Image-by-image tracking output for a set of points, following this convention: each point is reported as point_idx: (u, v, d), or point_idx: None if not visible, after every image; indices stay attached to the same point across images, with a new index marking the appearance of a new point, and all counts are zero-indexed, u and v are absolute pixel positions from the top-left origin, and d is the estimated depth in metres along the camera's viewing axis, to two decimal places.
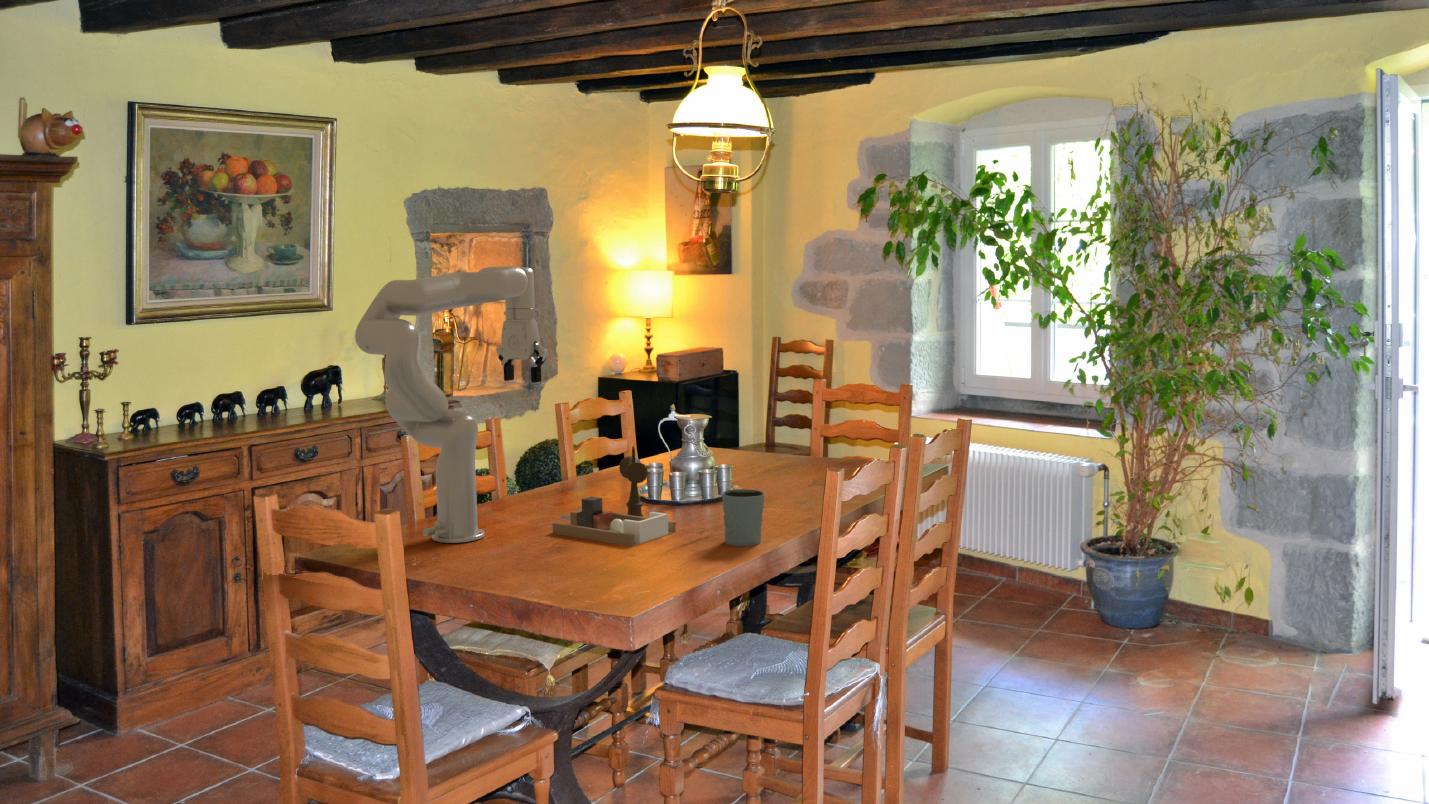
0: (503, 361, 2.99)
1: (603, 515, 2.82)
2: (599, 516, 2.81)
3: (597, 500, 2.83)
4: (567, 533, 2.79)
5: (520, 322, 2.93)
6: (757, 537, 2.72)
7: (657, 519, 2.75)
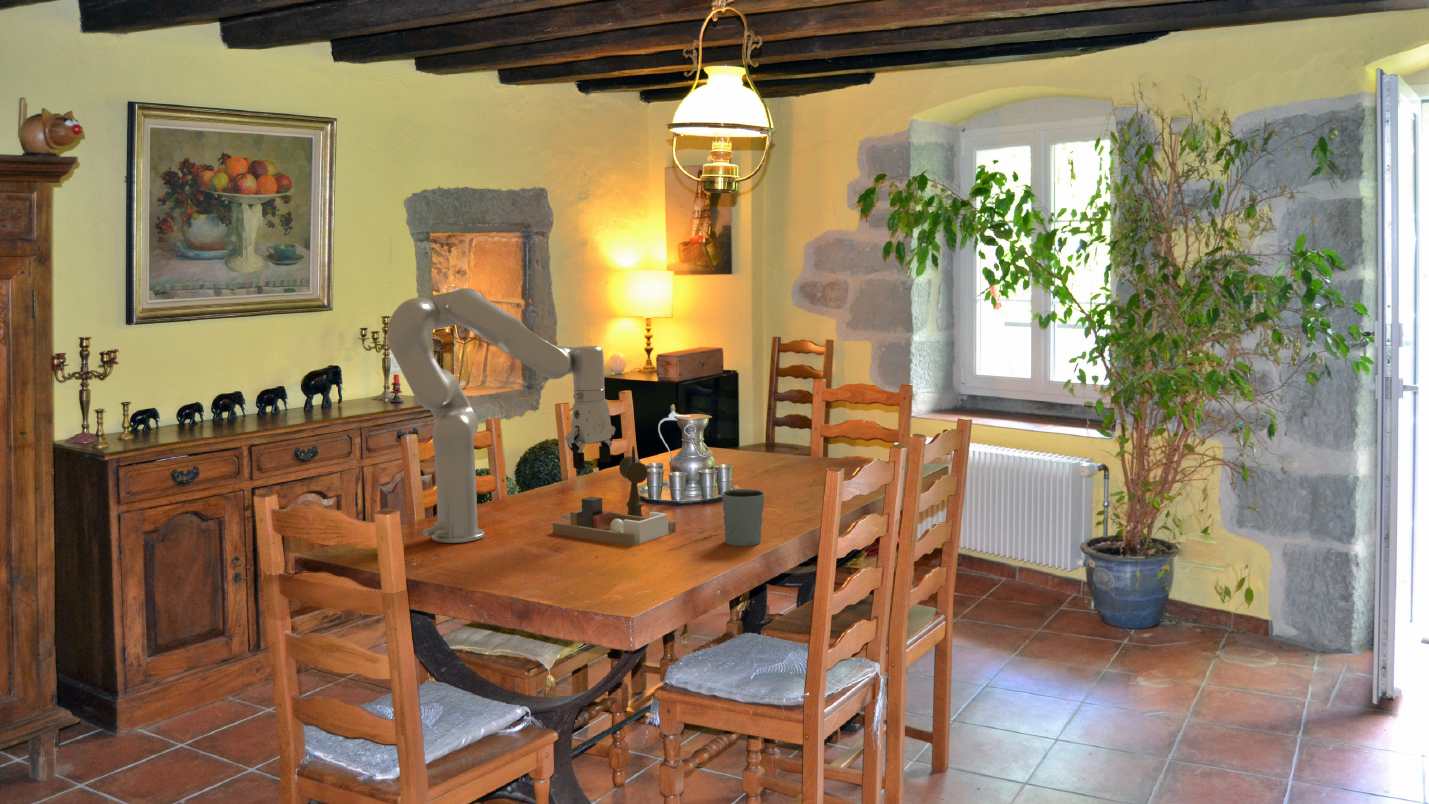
0: (581, 448, 2.78)
1: (603, 515, 2.82)
2: (599, 516, 2.81)
3: (597, 500, 2.83)
4: (567, 533, 2.79)
5: (603, 402, 2.82)
6: (757, 537, 2.72)
7: (657, 519, 2.75)
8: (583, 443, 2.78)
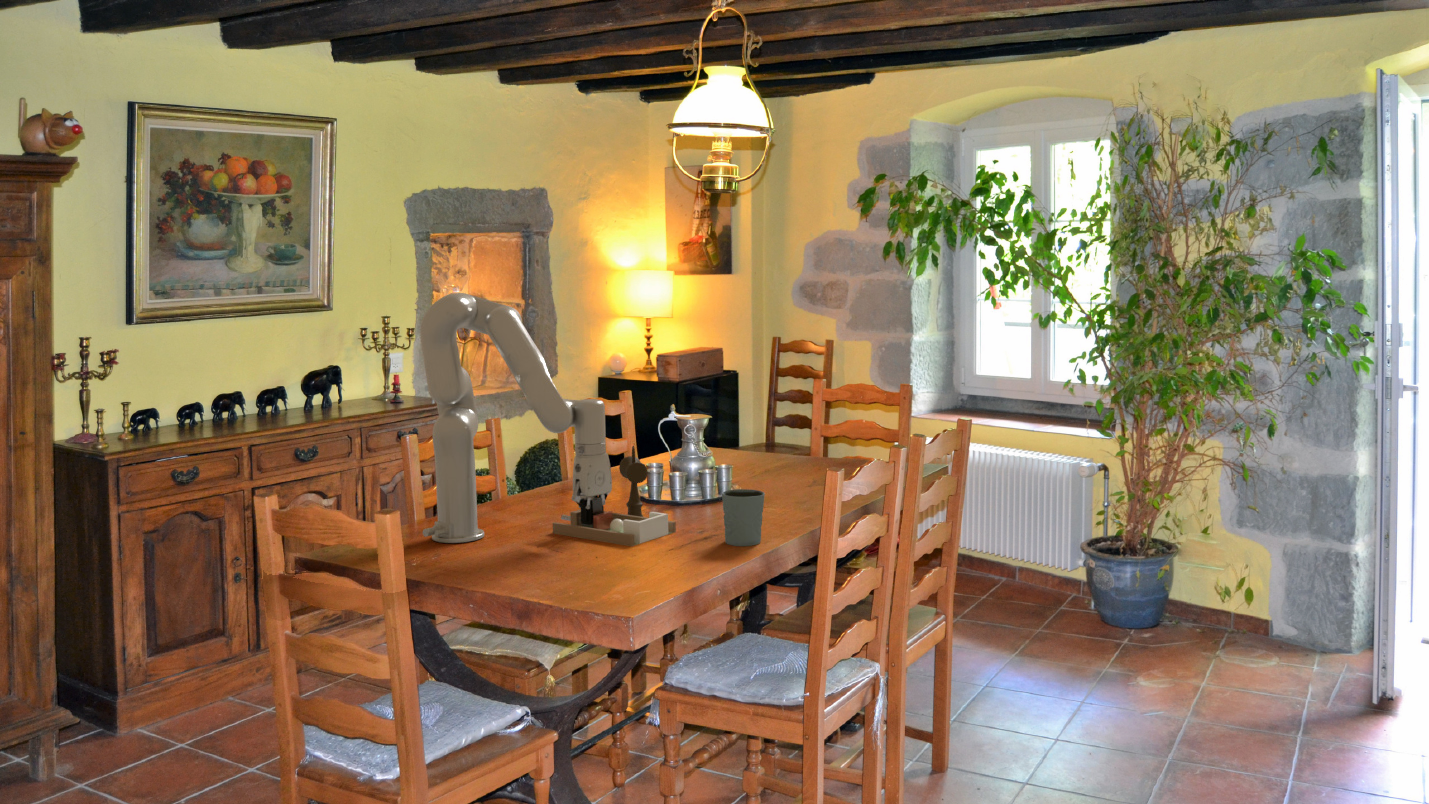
0: (588, 504, 2.81)
1: (603, 515, 2.82)
2: (599, 516, 2.81)
3: (597, 500, 2.83)
4: (567, 533, 2.79)
5: (604, 455, 2.84)
6: (757, 537, 2.72)
7: (657, 519, 2.75)
8: (588, 499, 2.81)
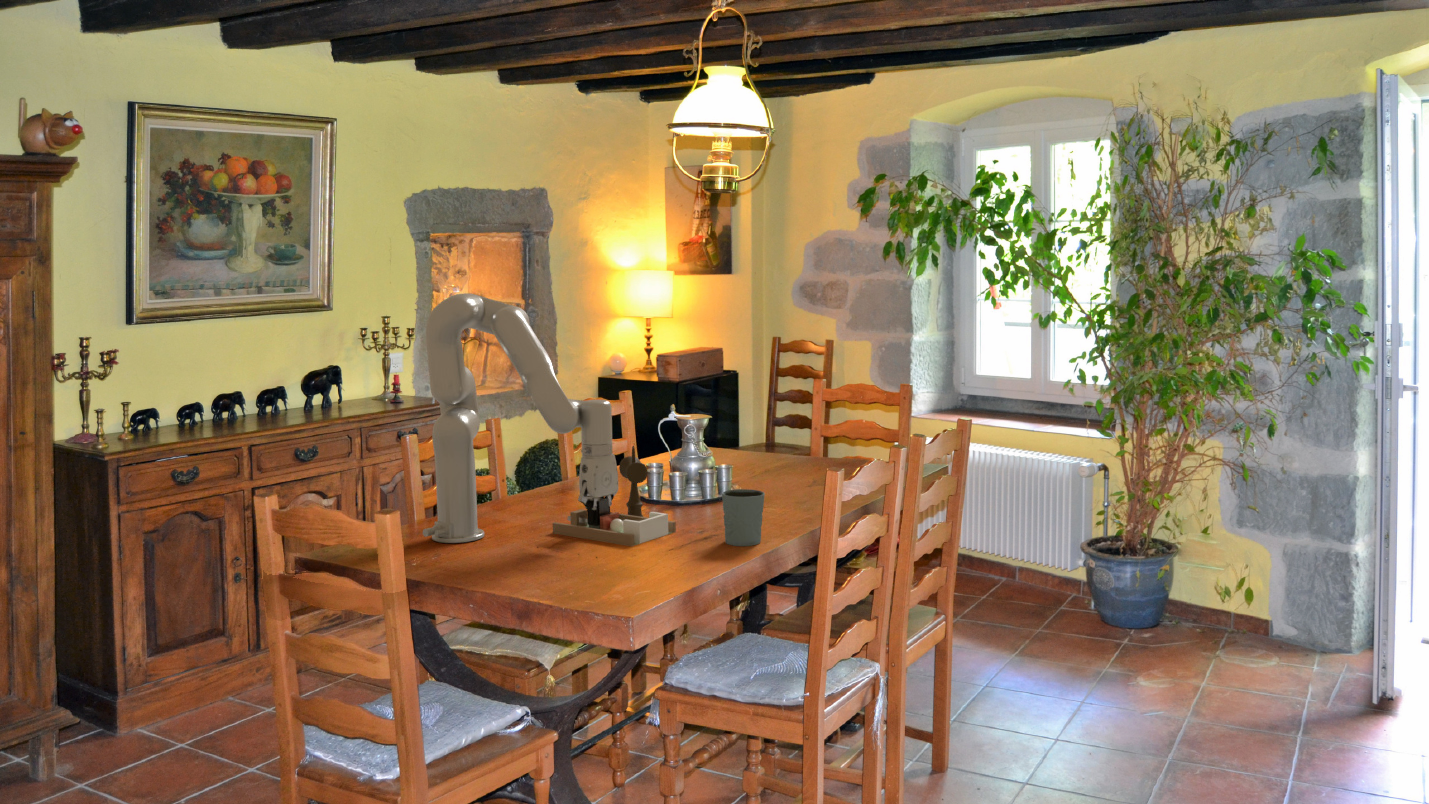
0: (594, 505, 2.80)
1: (610, 516, 2.81)
2: (606, 517, 2.80)
3: (604, 501, 2.82)
4: (567, 533, 2.79)
5: (611, 456, 2.82)
6: (757, 537, 2.72)
7: (657, 519, 2.75)
8: (595, 499, 2.80)
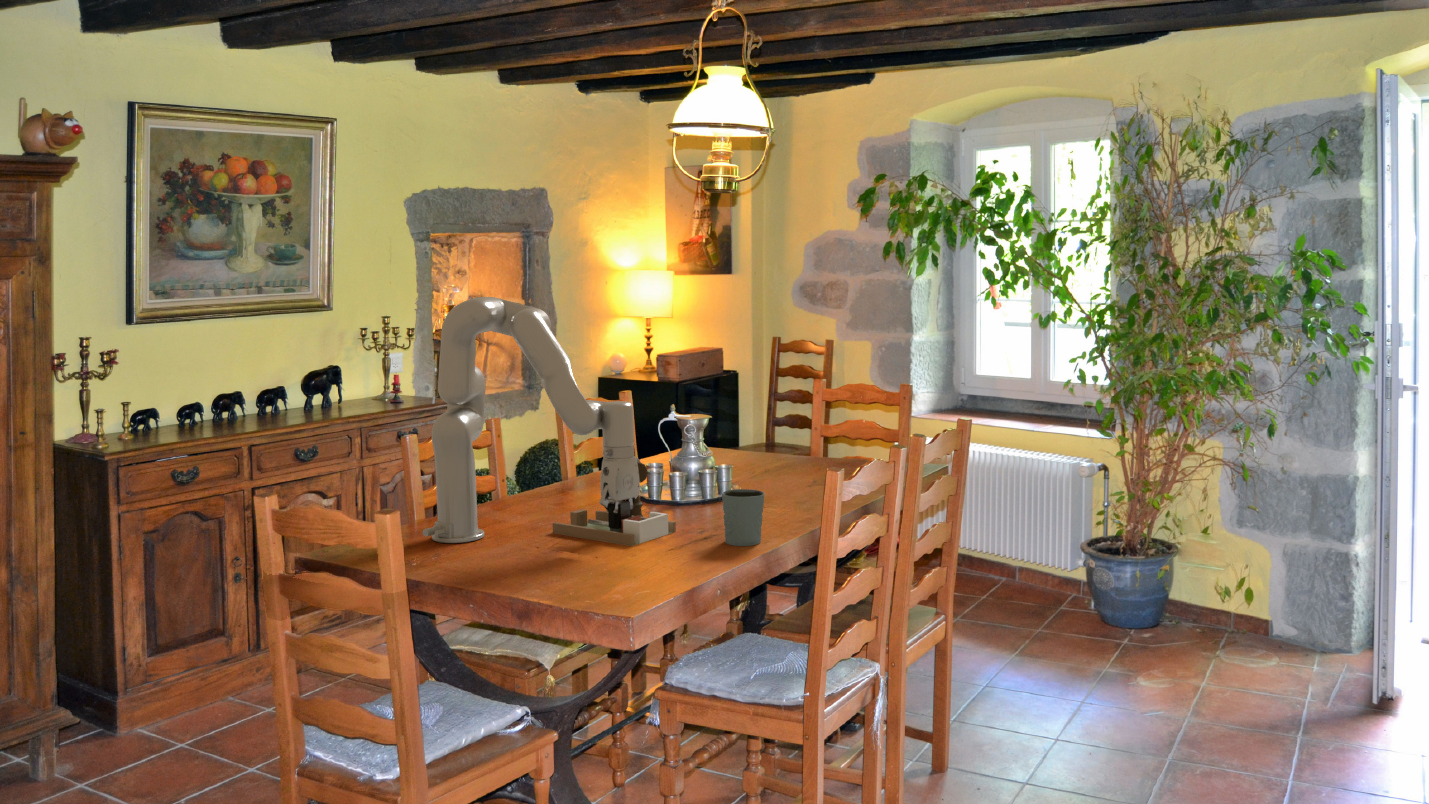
0: (616, 508, 2.76)
1: (631, 519, 2.77)
2: None
3: (625, 504, 2.78)
4: (567, 533, 2.79)
5: (633, 458, 2.78)
6: (757, 537, 2.72)
7: (657, 519, 2.75)
8: (616, 503, 2.76)
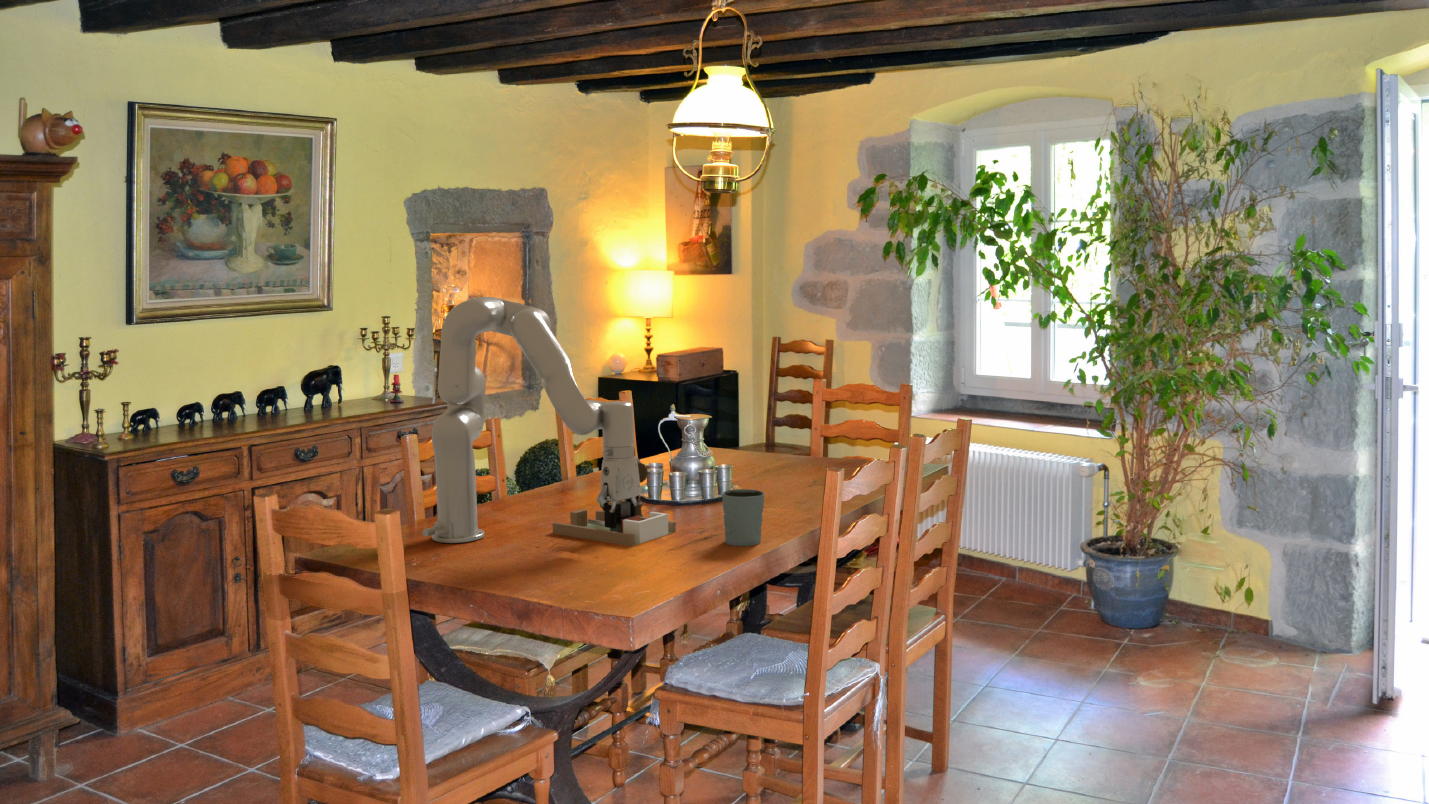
0: (612, 507, 2.75)
1: (631, 519, 2.77)
2: None
3: (625, 504, 2.78)
4: (567, 533, 2.79)
5: (633, 458, 2.78)
6: (757, 537, 2.72)
7: (657, 519, 2.75)
8: (614, 502, 2.75)
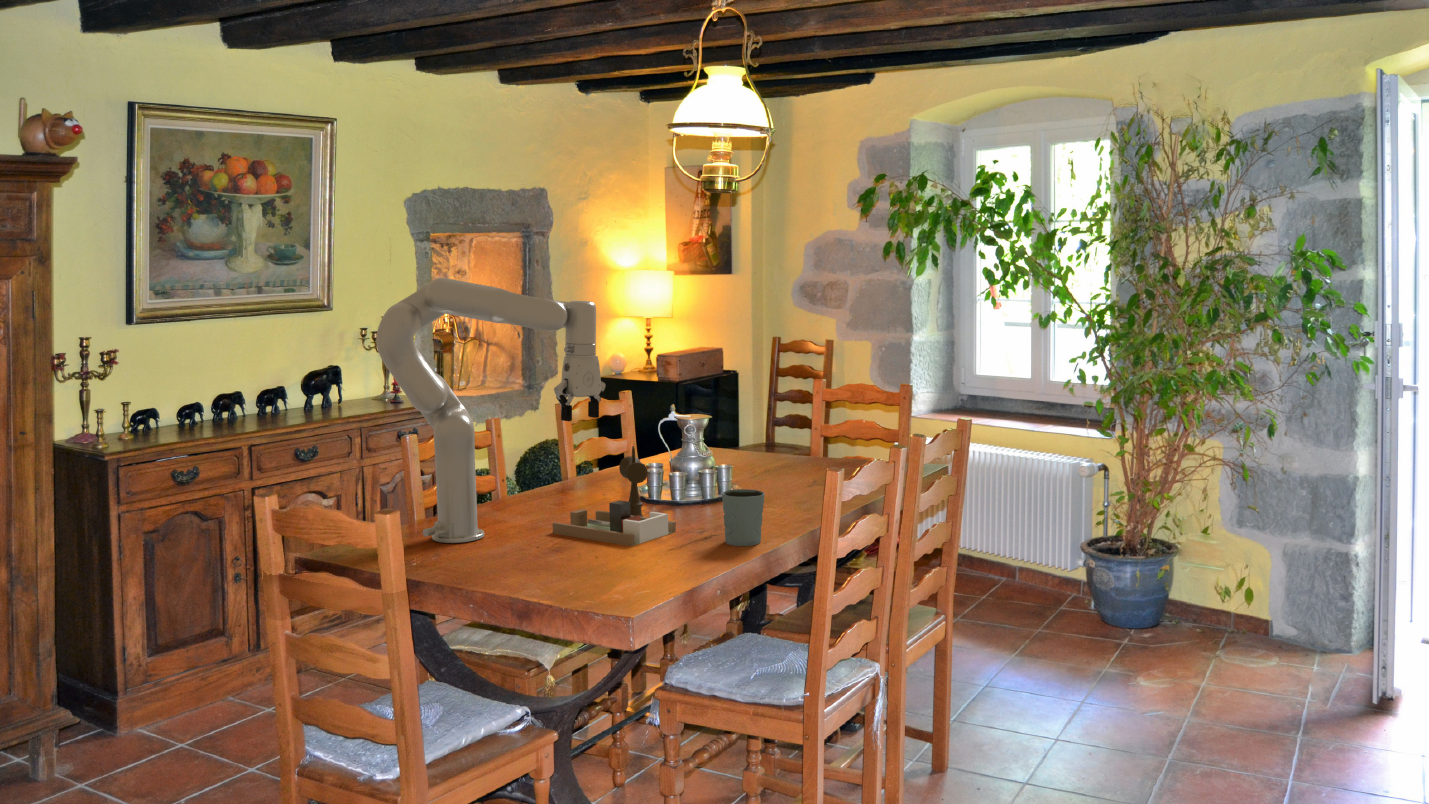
0: (569, 401, 2.81)
1: (631, 519, 2.77)
2: None
3: (625, 504, 2.78)
4: (567, 533, 2.79)
5: (594, 357, 2.85)
6: (757, 537, 2.72)
7: (657, 519, 2.75)
8: (571, 396, 2.82)
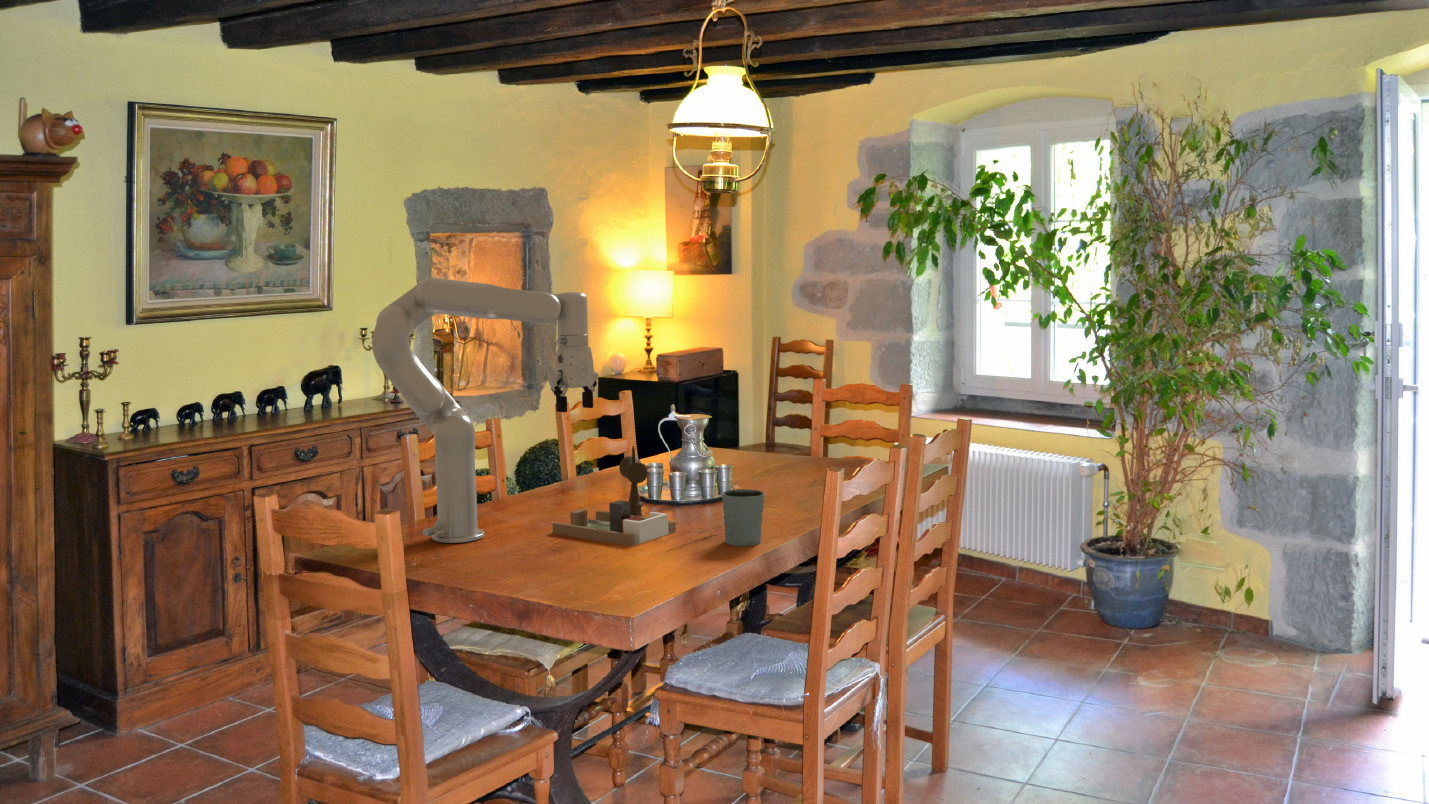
0: (564, 392, 2.83)
1: (631, 519, 2.77)
2: None
3: (625, 504, 2.78)
4: (567, 533, 2.79)
5: (587, 348, 2.87)
6: (757, 537, 2.72)
7: (657, 519, 2.75)
8: (566, 387, 2.83)
